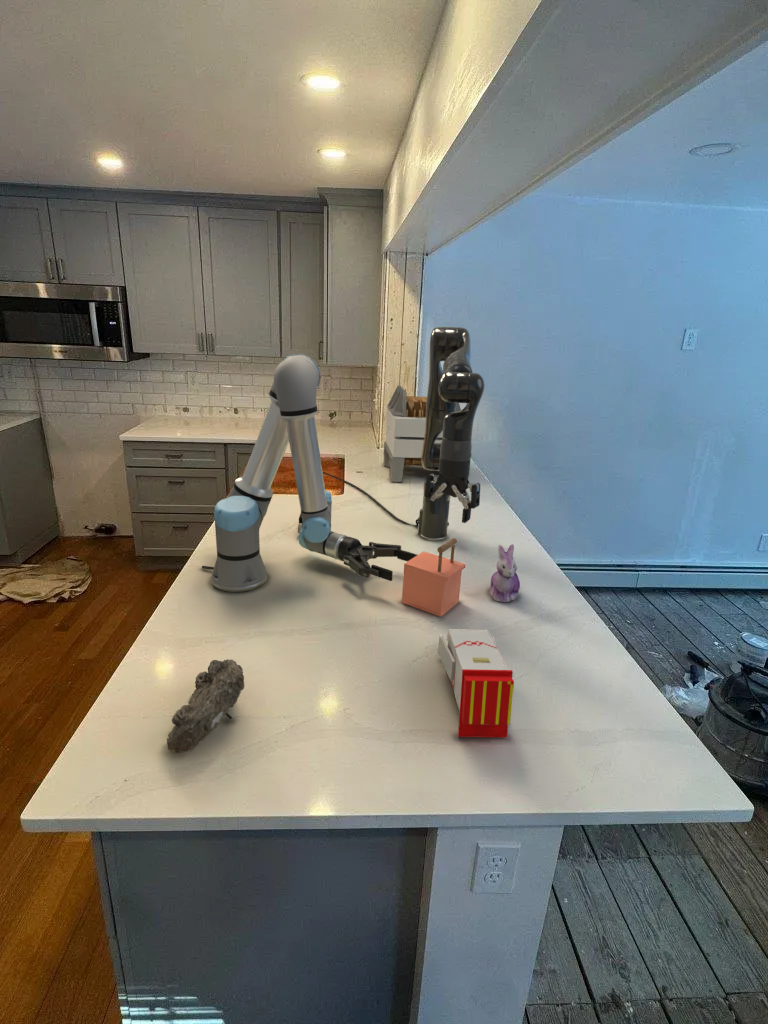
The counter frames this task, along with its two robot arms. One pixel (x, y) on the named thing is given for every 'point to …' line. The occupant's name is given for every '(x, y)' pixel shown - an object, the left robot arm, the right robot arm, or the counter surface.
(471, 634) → the toy
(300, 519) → the figurine character
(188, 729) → the fossil
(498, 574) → the figurine
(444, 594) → the chest
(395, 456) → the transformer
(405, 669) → the counter surface
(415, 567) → the lid
